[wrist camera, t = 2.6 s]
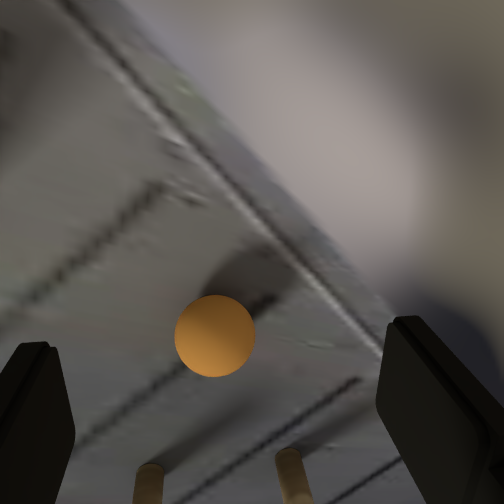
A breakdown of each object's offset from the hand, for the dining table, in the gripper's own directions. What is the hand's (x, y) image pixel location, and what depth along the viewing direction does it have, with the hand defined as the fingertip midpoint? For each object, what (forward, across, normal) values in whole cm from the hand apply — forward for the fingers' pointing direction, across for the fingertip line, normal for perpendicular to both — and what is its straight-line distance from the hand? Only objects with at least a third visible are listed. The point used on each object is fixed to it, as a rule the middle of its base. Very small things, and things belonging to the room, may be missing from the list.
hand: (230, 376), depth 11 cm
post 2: (+18, -6, +25) cm, 32 cm away
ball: (+15, 0, +9) cm, 18 cm away
